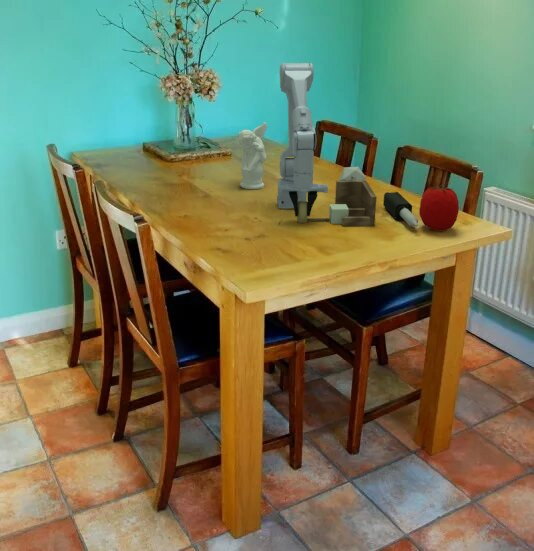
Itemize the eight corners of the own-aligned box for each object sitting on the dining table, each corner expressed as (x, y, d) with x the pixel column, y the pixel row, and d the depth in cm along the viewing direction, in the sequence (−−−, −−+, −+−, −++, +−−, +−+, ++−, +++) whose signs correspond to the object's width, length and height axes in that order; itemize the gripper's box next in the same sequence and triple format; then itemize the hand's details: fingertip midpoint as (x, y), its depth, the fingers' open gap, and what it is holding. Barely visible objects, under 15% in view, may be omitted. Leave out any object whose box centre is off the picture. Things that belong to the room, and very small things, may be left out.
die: (333, 191, 241) (340, 173, 233) (342, 174, 245) (349, 156, 237) (354, 200, 240) (362, 184, 232) (363, 183, 244) (371, 166, 236)
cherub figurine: (246, 191, 237) (245, 127, 228) (226, 183, 246) (225, 121, 237) (274, 186, 244) (275, 123, 235) (254, 178, 253) (254, 117, 244)
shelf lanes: (342, 226, 205) (344, 197, 202) (334, 208, 221) (336, 180, 217) (374, 225, 206) (376, 196, 202) (364, 207, 221) (366, 180, 218)
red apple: (440, 239, 196) (445, 194, 190) (408, 227, 205) (411, 183, 199) (467, 231, 202) (472, 187, 197) (434, 219, 211) (439, 177, 206)
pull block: (298, 224, 207) (298, 205, 204) (296, 218, 211) (296, 199, 209) (347, 223, 207) (348, 204, 205) (345, 218, 212) (346, 199, 209)
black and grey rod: (383, 207, 222) (407, 234, 199) (384, 192, 220) (409, 217, 197) (398, 206, 222) (424, 233, 200) (399, 191, 220) (426, 216, 198)
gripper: (279, 175, 199) (279, 220, 204) (329, 174, 199) (327, 219, 205) (278, 168, 205) (277, 212, 211) (326, 168, 206) (325, 211, 211)
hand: (302, 215), depth 208 cm, fingers closed on pull block, 3 cm apart
